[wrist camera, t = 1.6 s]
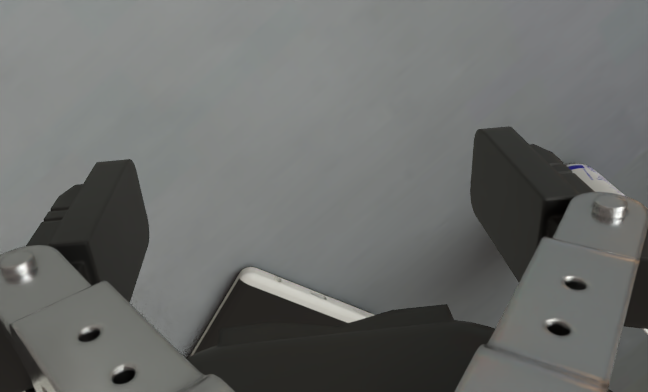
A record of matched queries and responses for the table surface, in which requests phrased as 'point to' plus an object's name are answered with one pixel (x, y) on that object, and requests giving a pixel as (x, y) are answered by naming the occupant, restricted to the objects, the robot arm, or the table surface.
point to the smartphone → (274, 306)
